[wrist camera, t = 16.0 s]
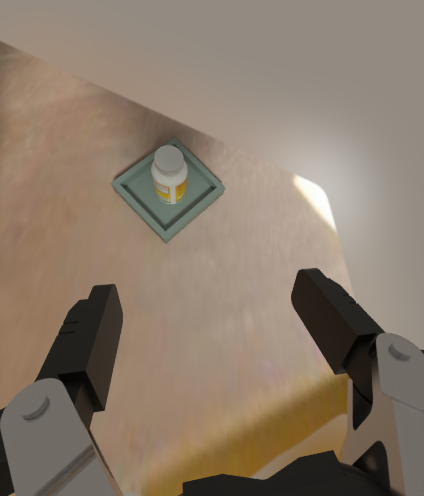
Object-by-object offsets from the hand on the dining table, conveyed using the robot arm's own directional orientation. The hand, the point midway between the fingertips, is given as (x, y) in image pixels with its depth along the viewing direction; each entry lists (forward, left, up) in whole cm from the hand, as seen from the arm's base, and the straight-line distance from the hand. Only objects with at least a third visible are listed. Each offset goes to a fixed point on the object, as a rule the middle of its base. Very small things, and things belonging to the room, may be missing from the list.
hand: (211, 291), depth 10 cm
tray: (+11, +16, -28) cm, 34 cm away
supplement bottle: (+11, +16, -27) cm, 33 cm away
